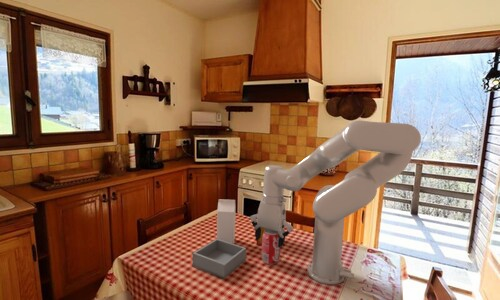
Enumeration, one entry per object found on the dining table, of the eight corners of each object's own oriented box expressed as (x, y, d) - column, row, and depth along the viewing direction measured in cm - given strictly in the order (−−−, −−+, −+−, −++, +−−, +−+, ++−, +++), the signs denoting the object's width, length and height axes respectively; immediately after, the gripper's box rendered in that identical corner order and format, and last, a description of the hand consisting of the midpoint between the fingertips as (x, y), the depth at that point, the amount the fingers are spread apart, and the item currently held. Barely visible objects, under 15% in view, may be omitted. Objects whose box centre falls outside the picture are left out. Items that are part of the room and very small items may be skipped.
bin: (245, 260, 99) (246, 248, 98) (224, 279, 87) (224, 265, 86) (216, 250, 106) (216, 238, 105) (192, 266, 94) (192, 253, 93)
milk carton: (233, 246, 109) (234, 202, 107) (216, 245, 110) (217, 201, 107) (234, 238, 117) (235, 197, 114) (218, 238, 117) (219, 196, 115)
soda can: (281, 257, 101) (282, 228, 100) (278, 267, 95) (279, 236, 93) (263, 254, 103) (264, 225, 102) (259, 264, 97) (260, 233, 95)
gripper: (298, 201, 95) (294, 245, 97) (257, 192, 104) (254, 232, 106) (290, 206, 89) (286, 253, 91) (247, 196, 97) (244, 239, 100)
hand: (269, 242), depth 99 cm, fingers open, 9 cm apart
